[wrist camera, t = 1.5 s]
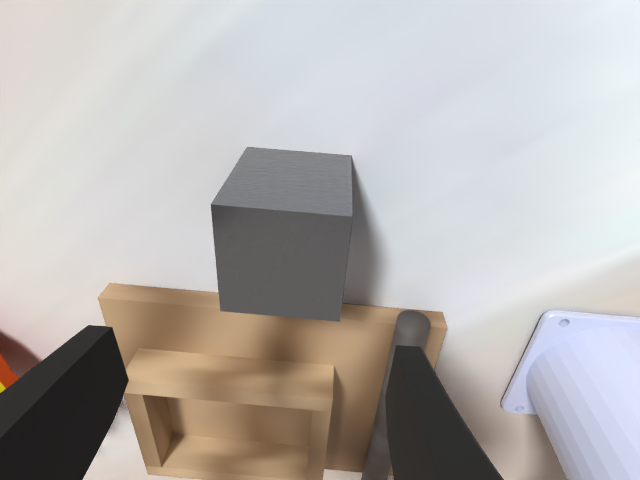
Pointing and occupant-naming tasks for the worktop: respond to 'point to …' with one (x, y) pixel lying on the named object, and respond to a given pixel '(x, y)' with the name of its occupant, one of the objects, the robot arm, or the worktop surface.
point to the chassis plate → (259, 384)
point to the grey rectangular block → (284, 234)
